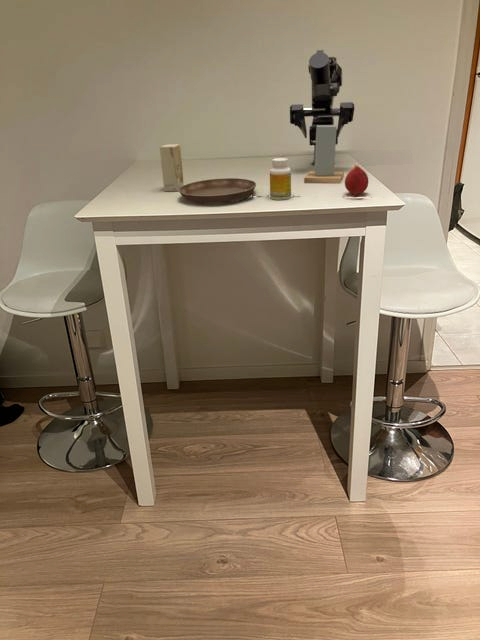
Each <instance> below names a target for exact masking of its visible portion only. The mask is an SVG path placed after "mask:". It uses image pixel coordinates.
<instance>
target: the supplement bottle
mask: <svg viewBox="0 0 480 640" xmlns="http://www.w3.org/2000/svg"><path fill="white" fill-rule="evenodd" d="M271 165H272V166H273V167H272V168H270V169H269V189H270V190H269V196H270V199H272V200H276V201H284V200H289V199H290V198H291V197H292V169H291V168H290V167H289V166H288V165H289V159H288V158H285V157H276V158H272V160H271Z"/></svg>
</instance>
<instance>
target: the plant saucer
mask: <svg viewBox="0 0 480 640" xmlns="http://www.w3.org/2000/svg"><path fill="white" fill-rule="evenodd" d="M256 187H257V182H255V181H254V180H251V179H245V178H233V177H232V178H231V177H228V178H214V179H213V178H212V179H204V180H197V181H195V182H190V183H187V184H184V186H182V187H180V188H179V191H178V192H179V194H180V195H181V196H182V197H183V199H185V200H187V202H189V203H192V204H197V205H204V206H205V205H207V206H208V205H211V206H212V205H226V204H227V205H228V204H232V203H237V201H238V202H241V201H242V200H243V201H244V200H245V199H247V198H249V196H250V195H251V194H252V193H253V191H254V190H255V188H256Z"/></svg>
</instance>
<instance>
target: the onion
mask: <svg viewBox="0 0 480 640" xmlns="http://www.w3.org/2000/svg"><path fill="white" fill-rule="evenodd" d="M344 178H345V179H344V187H345V189H346V190H347V191H348V193H349V194H351V195H352V196H353V197H354V198H357V197H358V196H360V195H362V194H363V193H364V192H365V191H366V190H367V188H368V186H369V177H368V175H367V173H366V171H364V170H363V169H362V168H361V167H360V166H359V164H354V168H353V169H351V170H350V171H349V172H348V173H347V174H346V176H345V177H344Z"/></svg>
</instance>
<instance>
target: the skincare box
mask: <svg viewBox="0 0 480 640" xmlns="http://www.w3.org/2000/svg"><path fill="white" fill-rule="evenodd" d="M159 152H160V163H161V171H162V183H163V191H164V192H179V188H180V187H182V186H184V185H185V183H184V182H185V181H184V173H183V163H182V151H181V144H180V143H178V144H175V143H174V144H173V143H171V144H170V143H169V144H168V143H167V144H164V145H161V146H160V147H159Z"/></svg>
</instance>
